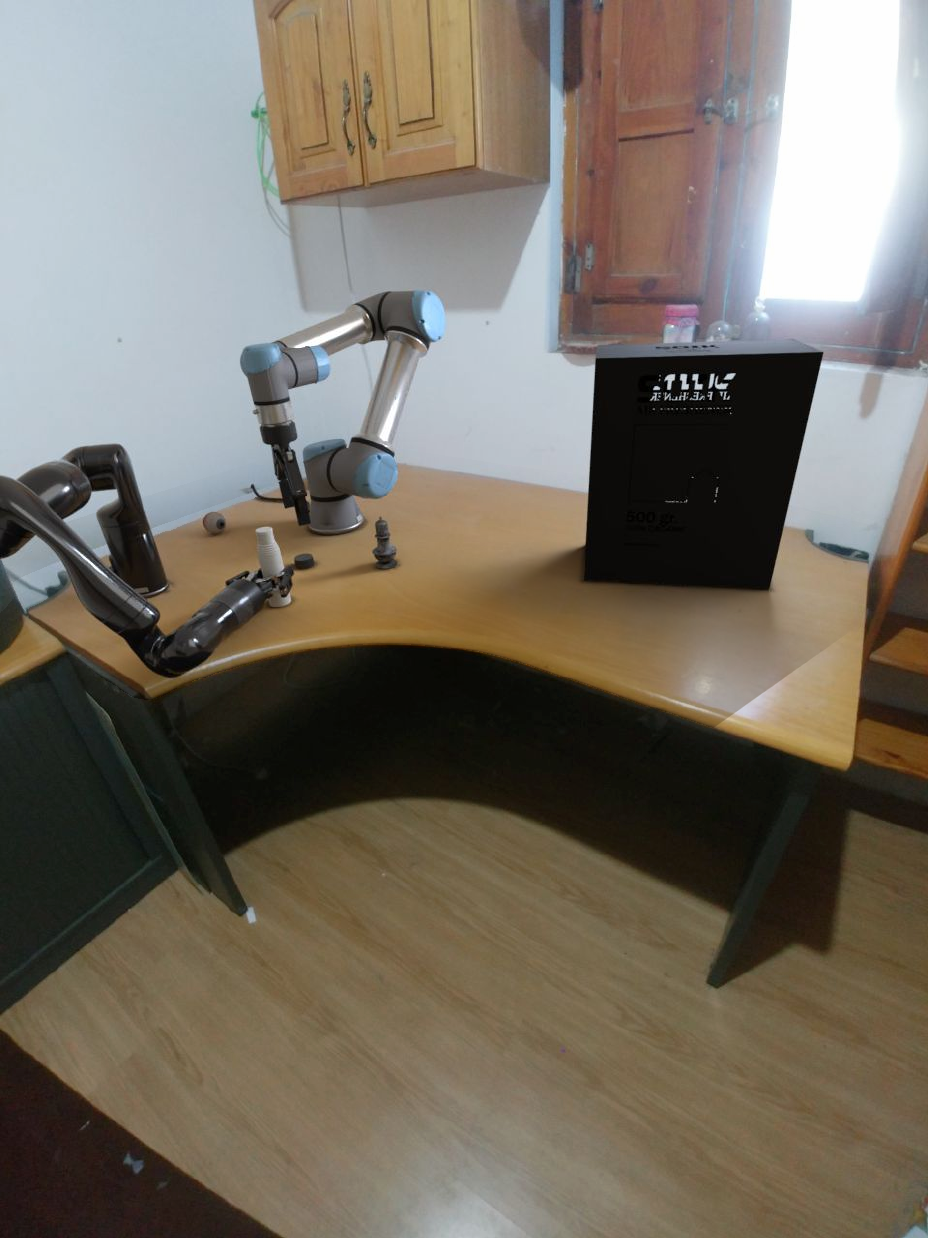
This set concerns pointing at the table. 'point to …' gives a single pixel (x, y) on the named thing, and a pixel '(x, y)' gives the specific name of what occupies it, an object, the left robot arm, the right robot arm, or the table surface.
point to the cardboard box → (695, 460)
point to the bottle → (270, 561)
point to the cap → (304, 561)
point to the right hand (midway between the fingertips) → (297, 515)
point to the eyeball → (214, 522)
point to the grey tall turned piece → (384, 546)
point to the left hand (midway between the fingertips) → (280, 568)
